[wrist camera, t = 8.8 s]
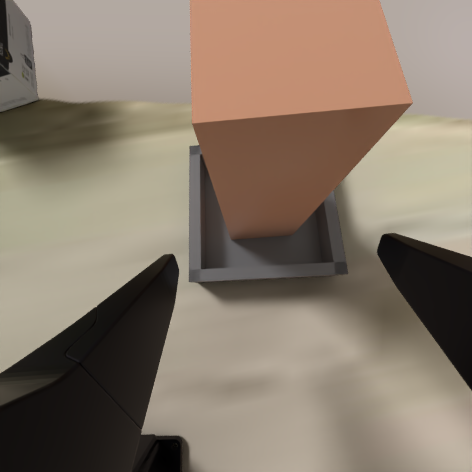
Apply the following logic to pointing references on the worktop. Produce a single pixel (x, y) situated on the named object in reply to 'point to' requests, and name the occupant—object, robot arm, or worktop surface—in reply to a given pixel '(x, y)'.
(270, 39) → the peach block
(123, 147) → the worktop surface
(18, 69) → the tea box
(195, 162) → the tray
